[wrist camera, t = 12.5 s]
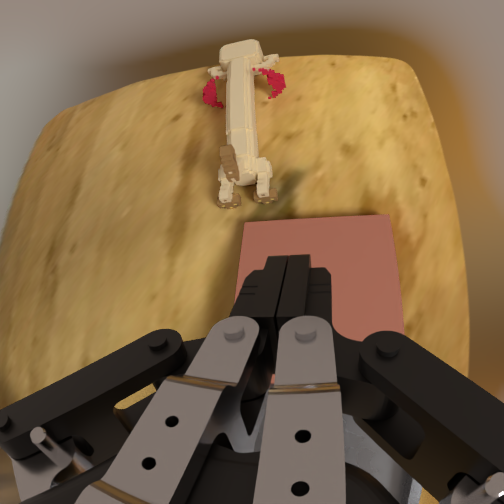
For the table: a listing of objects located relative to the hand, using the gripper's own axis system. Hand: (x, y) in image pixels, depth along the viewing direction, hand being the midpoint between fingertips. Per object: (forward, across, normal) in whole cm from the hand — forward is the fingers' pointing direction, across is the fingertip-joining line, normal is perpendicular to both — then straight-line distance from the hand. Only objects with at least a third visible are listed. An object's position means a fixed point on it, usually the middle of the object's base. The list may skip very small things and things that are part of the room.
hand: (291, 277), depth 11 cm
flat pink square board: (+4, 0, +12) cm, 13 cm away
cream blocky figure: (+28, +7, -5) cm, 29 cm away
